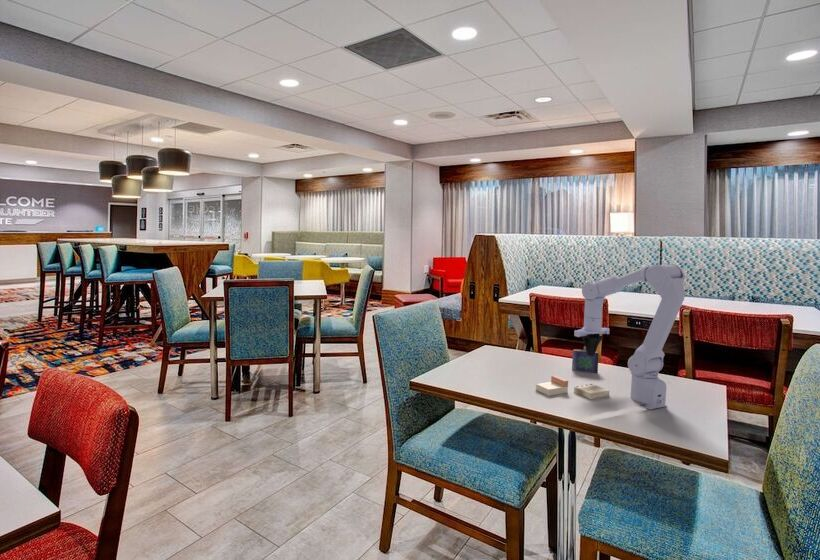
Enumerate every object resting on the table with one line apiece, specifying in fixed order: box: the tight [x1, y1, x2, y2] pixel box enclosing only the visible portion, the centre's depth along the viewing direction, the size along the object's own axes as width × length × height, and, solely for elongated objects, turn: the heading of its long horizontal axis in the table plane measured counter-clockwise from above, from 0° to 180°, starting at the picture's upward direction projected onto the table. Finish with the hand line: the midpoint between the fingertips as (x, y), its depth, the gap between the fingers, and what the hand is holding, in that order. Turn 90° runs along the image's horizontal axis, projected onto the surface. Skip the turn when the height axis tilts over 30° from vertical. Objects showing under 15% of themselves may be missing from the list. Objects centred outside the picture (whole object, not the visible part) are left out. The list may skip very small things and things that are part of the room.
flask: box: [571, 345, 599, 374], centre depth 173 cm, size 9×3×11 cm, turn 65°
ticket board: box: [573, 383, 610, 400], centre depth 149 cm, size 16×20×3 cm
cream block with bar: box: [535, 374, 569, 397], centre depth 150 cm, size 6×8×4 cm
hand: (590, 355), depth 161 cm, fingers closed
